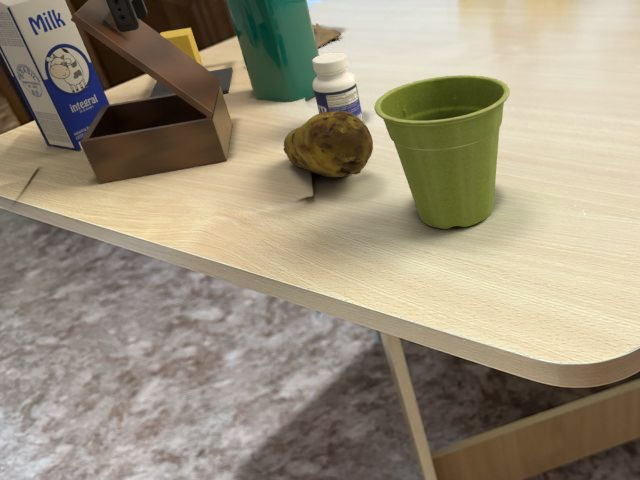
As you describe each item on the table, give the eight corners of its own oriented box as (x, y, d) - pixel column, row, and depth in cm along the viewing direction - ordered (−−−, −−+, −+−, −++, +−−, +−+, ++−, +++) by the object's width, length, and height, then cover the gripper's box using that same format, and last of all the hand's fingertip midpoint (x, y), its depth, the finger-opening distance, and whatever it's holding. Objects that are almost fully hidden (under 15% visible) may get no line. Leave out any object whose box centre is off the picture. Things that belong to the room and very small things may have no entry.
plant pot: (532, 188, 69) (526, 74, 62) (493, 249, 61) (481, 124, 54) (425, 181, 73) (408, 72, 66) (374, 237, 65) (349, 119, 58)
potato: (355, 149, 82) (340, 81, 77) (389, 190, 72) (375, 115, 67) (286, 167, 80) (267, 98, 75) (312, 212, 70) (292, 136, 65)
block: (175, 91, 106) (156, 39, 101) (178, 82, 109) (160, 32, 105) (204, 86, 106) (187, 34, 101) (207, 77, 110) (190, 27, 105)
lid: (70, 20, 69) (97, -25, 68) (96, -5, 79) (120, -45, 77) (209, 118, 78) (236, 80, 76) (217, 84, 87) (241, 50, 86)
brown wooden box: (102, 190, 80) (79, 142, 76) (121, 149, 90) (102, 105, 86) (228, 167, 81) (212, 119, 78) (234, 129, 91) (220, 85, 88)
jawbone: (352, 34, 125) (350, 22, 124) (295, 73, 111) (293, 60, 109) (308, 30, 127) (306, 18, 126) (247, 68, 113) (244, 55, 112)
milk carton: (92, 131, 97) (20, -29, 84) (124, 135, 94) (54, -29, 81) (48, 151, 92) (-35, -14, 79) (80, 157, 89) (-1, -14, 77)
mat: (147, 106, 103) (146, 103, 102) (158, 82, 112) (157, 79, 112) (228, 93, 104) (227, 89, 104) (232, 70, 113) (231, 67, 113)
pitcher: (332, 87, 101) (293, -89, 87) (296, 108, 95) (248, -77, 82) (280, 83, 105) (235, -86, 91) (243, 103, 99) (189, -74, 86)
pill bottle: (321, 127, 88) (304, 55, 83) (361, 119, 89) (346, 47, 84) (327, 142, 84) (309, 67, 79) (368, 133, 85) (354, 58, 80)
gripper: (39, -163, 71) (112, 15, 81) (-7, -159, 60) (85, 47, 70) (113, -174, 71) (176, 4, 82) (81, -173, 60) (159, 33, 71)
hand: (134, 23), depth 76 cm, fingers closed on lid, 5 cm apart
